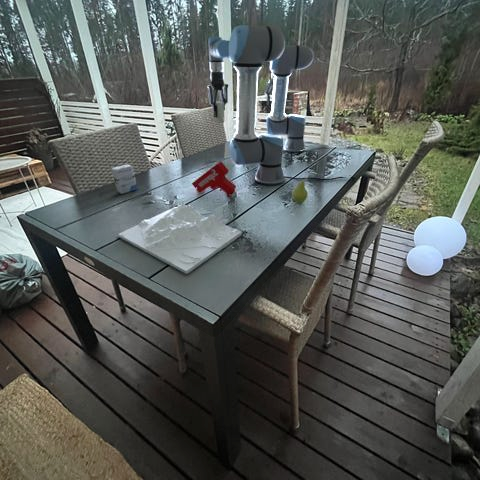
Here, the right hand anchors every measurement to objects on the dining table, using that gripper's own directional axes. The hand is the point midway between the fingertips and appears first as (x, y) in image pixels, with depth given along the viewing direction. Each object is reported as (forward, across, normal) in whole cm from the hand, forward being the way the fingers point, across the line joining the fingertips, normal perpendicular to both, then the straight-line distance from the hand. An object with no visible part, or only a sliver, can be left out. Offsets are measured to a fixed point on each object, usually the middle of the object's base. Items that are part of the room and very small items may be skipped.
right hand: (274, 104), depth 210 cm
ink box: (+26, -130, -37) cm, 138 cm away
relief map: (+26, -128, -92) cm, 160 cm away
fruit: (+26, -73, -98) cm, 125 cm away
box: (+4, -64, -21) cm, 68 cm away
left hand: (+1, -64, -21) cm, 68 cm away
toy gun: (+26, -98, -66) cm, 121 cm away
